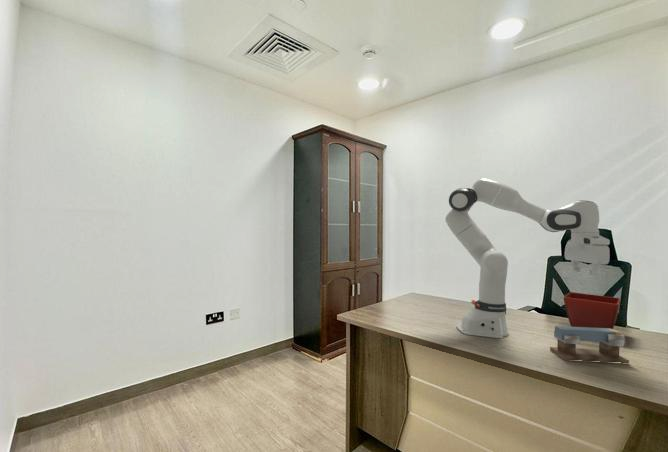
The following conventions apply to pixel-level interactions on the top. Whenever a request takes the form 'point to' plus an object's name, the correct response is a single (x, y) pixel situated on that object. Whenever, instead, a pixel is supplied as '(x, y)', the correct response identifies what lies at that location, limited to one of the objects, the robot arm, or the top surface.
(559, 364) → the top surface
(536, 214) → the robot arm
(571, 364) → the top surface
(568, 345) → the stand
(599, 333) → the rail
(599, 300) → the plant pot
